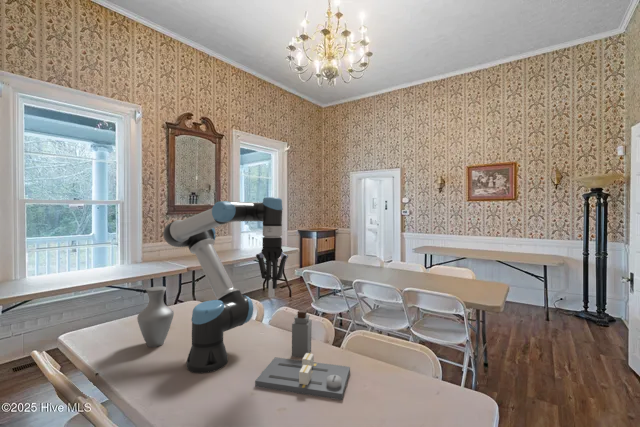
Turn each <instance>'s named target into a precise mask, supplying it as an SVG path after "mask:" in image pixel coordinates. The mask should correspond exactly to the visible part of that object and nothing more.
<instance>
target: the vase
mask: <svg viewBox="0 0 640 427" xmlns="http://www.w3.org/2000/svg"><path fill="white" fill-rule="evenodd" d="M166 290H167V287H166V286H164V285H163V286H160V285H159V286H152V287H148V288H146V289H145V292H146V293H147V296H148V304H147V306H146V307H145V308H144V309H143V310H141V311H140V312H139V313H138V314H137V318H136V319H137V323H138V326H139V330H140V333H141V336H142V337H143V340H144V342H145V344H146V345H147V347H149V348H156V347H159V346H162V345H164V343H165V341H166V338H167V336H168V334H169V331H170V328H171V325H172V322H173V319H174V315H175V313H174V310H173V309H172V308H171V307H169V306H168V305H166V304H165V302H164V297H165V296H164V295H165V293H166Z"/></svg>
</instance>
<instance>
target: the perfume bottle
mask: <svg viewBox="0 0 640 427" xmlns="http://www.w3.org/2000/svg"><path fill="white" fill-rule="evenodd" d="M307 312H308V310H307V309H299V310H298V311H297V313H296V315H295V317H294V320H293V322H292V323H291V357H295V358H301V359H303V357H304V355H305V354H306V353H312V324H313V323H312V319H310V317H311V315H310V314H307Z"/></svg>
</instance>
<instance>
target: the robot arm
mask: <svg viewBox="0 0 640 427" xmlns="http://www.w3.org/2000/svg"><path fill="white" fill-rule="evenodd" d="M283 210H284V209H283V200H282V198H280V197H275V196H274V197H273V196H272V197H269V196H268V197H263V199H262V202H244V201H243V202H242V201H230V200H229V201H228V200H223V201H222V200H221V201H217V202H215V203H214V205H213V206H212V208H210V209H207V210H205V211H202V212H200V213H197V214H194V215H192V216H190V217H186V218H184V219H176V220H173V221H172V222H169V223H168V224H167V225H165V227H164V229H163V234H162V235H163V238H164V241H165V242H166V243H167V244H168V245H169V246H172V247H174V248H175V247H176V248H186V247H187V248H188V249H189V252H190V253H191V254H193V255H194V254H195V256H196V258H197V260H198V262H199V265H200V267H201V268H202V269H201V270H202V271H203V273H204V275H205V278H206V280H207V282H208V284H209V285H210V288H211V290H212V292H213V294H214V297H215V298H216V299H210V300H206V301H203V302H200V303H198V304H197V305H195V306H194V308H193V310H192V314H191V315H192V316H191V347H190V350H189V353H188V355H187V359H186V369H187V370H188V371H189V372H191V373H195V374H207V373H212V372H215V371H218V370H221V369H222V368H224V367H225V366H227V364H228V362H229V361H228V360H229V357H228V353H227V349H226V346H225V344H224V332H227V331H230V330H232V329H235V328H237V327H241V326H243V325H244V324H247V323H248V322H249V321H250V320H251V319H252V317H253V315H254V313H253V312H254V303H253V301H252V299H251V298H250V297H249V296H247V295H244V294H243V293H242V292H241V290H240V289H239V288H235V286H234V284H233V282H232V280H231V278H230V276H229V274H228V272H227V271H226V268H225V267H224V264H223V262H222V261H221V258H220V256H219V255H218V252H217V251H216V248H215V243H216V241H215V240H216V236H217V235H216V229H215V228H218V227H220V226H223V225H226V224H229V223H233V222H262V236H263V237H262V247H261V252H259V253H257V254H256V255H255V257H256V259H257V260H258V265H259V266H258V267H259V271H260V275H261V278H262V279H263V280H266V281H265V282H266V284H265V285H266V289H268V292H267V293H268V294H267V295H268V298H270V299H273V298H274V297H275V295H276V293H275V292H276V291H275V290H276V289H277V288H278V281H279V280H280V279H282V278H283V274H284V268H285V265H286V261H287V260H288V258H289V254H286V253H284V251H283V246H282V245H283V238H282V235H283V222H282V221H283ZM264 258H265V260H264ZM280 258H281V259H280ZM279 259H280V262H279ZM278 262H279V266H278Z"/></svg>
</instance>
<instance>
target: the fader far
mask: <svg viewBox="0 0 640 427" xmlns="http://www.w3.org/2000/svg"><path fill="white" fill-rule="evenodd" d="M314 355H315V354H314V353H312V352H310V353H306V354H305V355H304V357H303V358H301V361H302V366H303V365H309V366H312V367H313V365H314V362H315V360H314V359H315V358H314Z"/></svg>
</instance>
